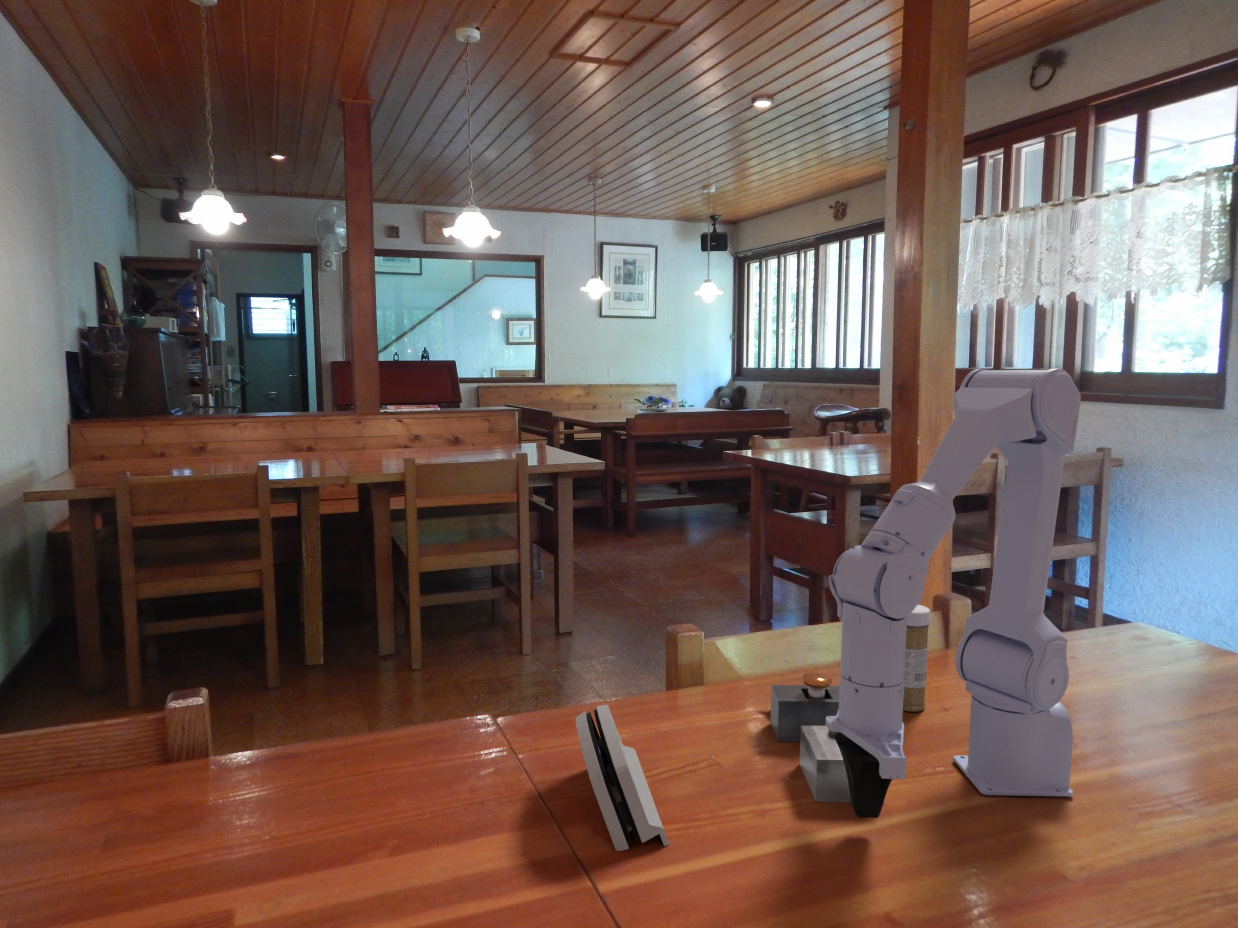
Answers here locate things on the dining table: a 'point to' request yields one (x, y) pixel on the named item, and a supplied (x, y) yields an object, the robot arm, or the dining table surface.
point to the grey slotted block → (617, 781)
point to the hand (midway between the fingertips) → (865, 813)
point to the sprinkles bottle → (916, 659)
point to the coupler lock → (823, 765)
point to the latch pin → (816, 684)
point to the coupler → (799, 710)
